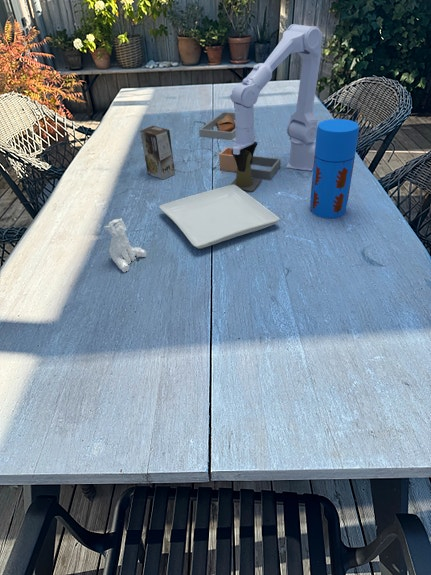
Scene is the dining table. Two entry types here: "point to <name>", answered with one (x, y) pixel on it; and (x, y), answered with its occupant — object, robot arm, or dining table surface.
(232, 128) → the sunglasses case
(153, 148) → the coffee box
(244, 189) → the dark grey rubber mat
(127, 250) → the sitting furry creature
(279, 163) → the grey rectangular frame
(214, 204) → the square plate
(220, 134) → the dark grey tray
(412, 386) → the dining table surface
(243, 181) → the cork
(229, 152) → the terracotta pot
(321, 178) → the thermos
